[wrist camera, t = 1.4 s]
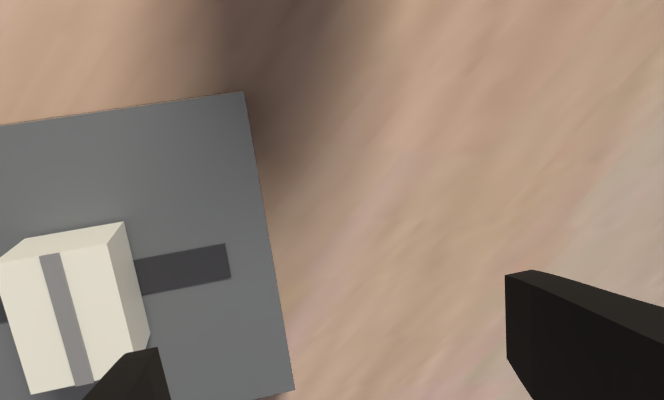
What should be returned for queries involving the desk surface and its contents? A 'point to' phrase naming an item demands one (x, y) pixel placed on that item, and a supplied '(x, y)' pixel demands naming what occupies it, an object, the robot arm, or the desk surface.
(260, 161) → the desk surface
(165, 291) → the console
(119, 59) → the desk surface
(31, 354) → the fader cap
